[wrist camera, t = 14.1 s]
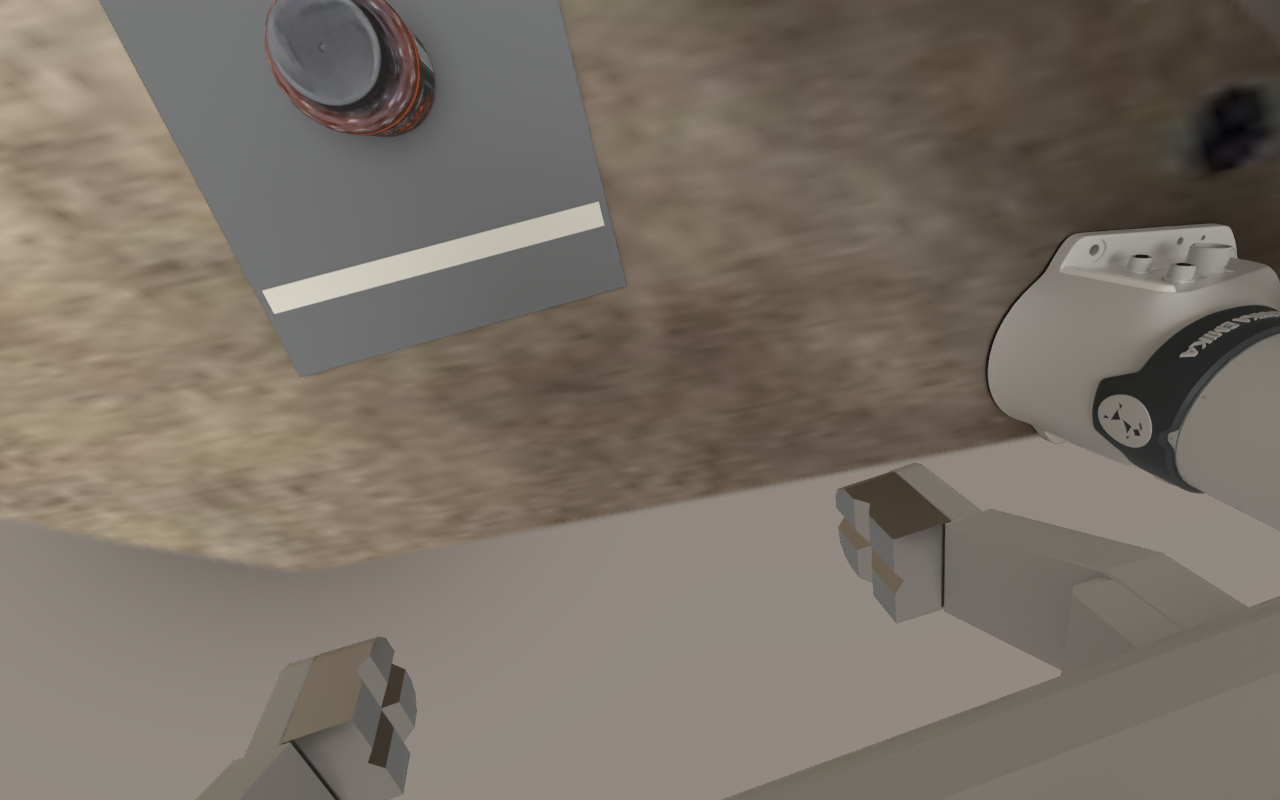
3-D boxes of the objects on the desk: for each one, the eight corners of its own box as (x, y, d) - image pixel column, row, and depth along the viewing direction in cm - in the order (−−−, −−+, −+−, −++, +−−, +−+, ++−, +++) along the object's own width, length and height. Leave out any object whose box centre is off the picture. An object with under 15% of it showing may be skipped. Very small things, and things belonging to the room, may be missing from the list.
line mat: (527, -123, 30) (528, -127, 30) (625, 284, 40) (627, 286, 39) (88, -29, 28) (79, -32, 28) (302, 374, 38) (299, 378, 37)
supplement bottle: (386, 160, 34) (332, 168, 23) (296, 67, 31) (192, 30, 21) (461, 88, 33) (439, 64, 23) (375, -14, 30) (308, -92, 20)
